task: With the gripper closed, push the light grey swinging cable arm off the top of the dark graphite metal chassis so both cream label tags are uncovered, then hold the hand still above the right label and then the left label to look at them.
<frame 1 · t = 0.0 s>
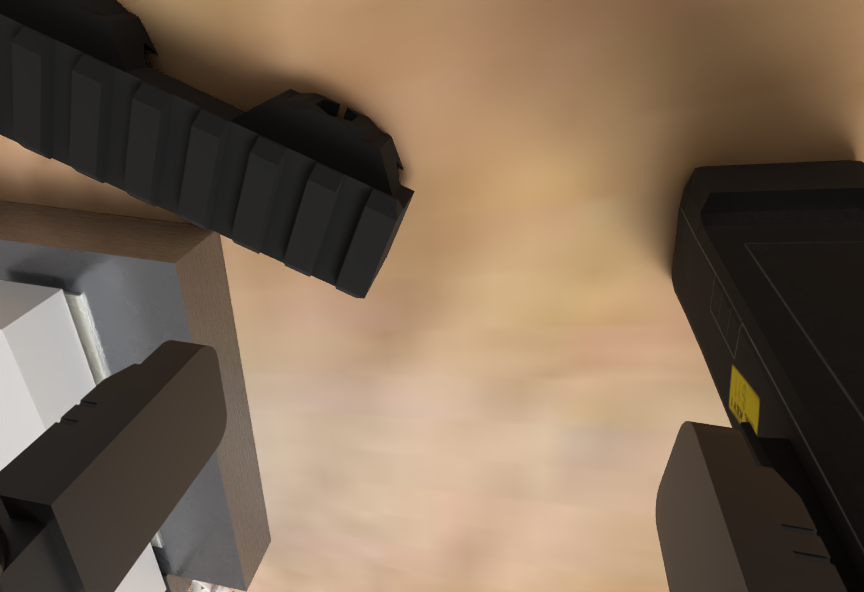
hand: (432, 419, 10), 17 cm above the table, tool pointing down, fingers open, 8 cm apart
chassis: (135, 394, 37), on the table
portable radio: (746, 229, 24), on the table
cable arm: (74, 507, 33), point 7 cm above the table, hinge at 0.0°
rail mount: (204, 110, 26), on the table
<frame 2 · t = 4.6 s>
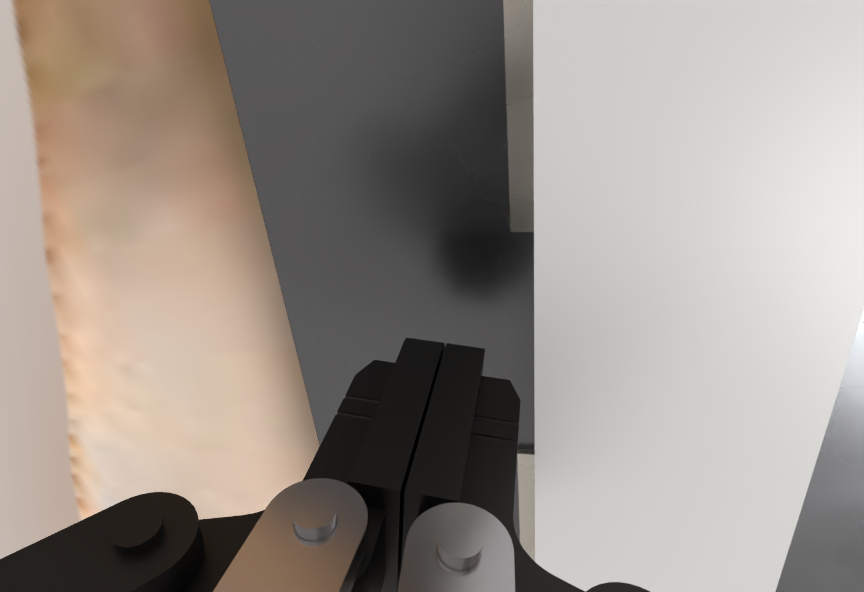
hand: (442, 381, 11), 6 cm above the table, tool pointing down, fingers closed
chassis: (612, 289, 16), on the table
cable arm: (635, 562, 12), point 7 cm above the table, hinge at -0.4°, touching gripper
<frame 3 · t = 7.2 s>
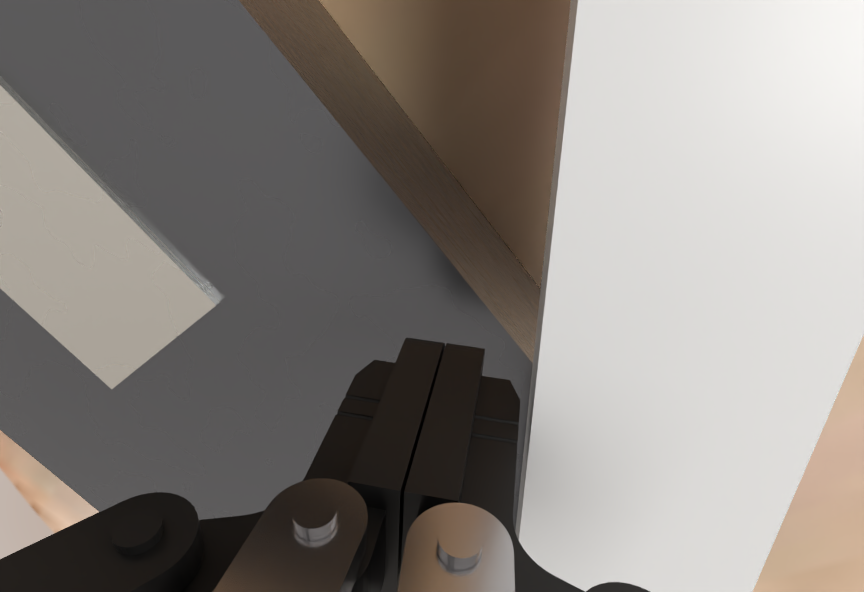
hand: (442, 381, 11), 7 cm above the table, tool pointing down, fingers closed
chassis: (309, 355, 19), on the table
cable arm: (611, 564, 12), point 7 cm above the table, hinge at -39.3°, touching gripper
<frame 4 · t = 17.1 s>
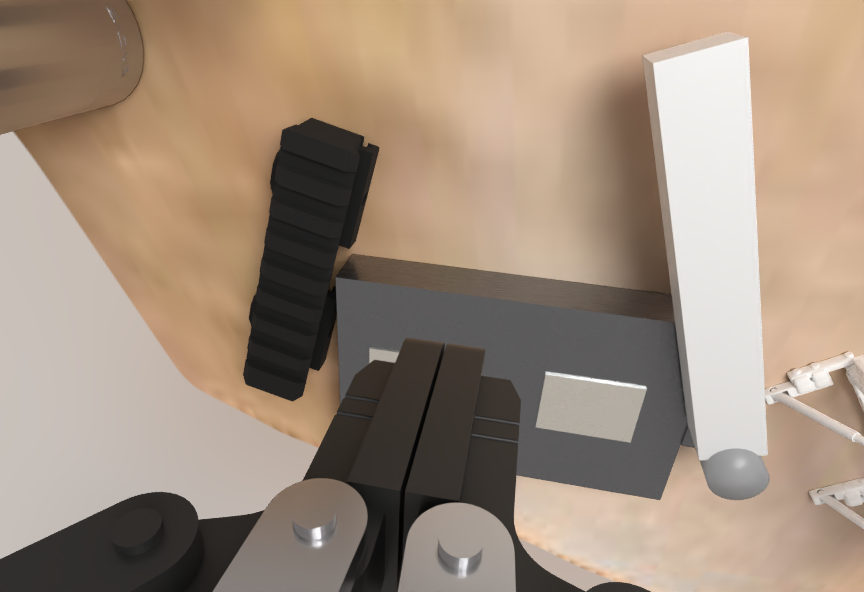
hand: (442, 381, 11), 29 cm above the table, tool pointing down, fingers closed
chassis: (509, 363, 45), on the table
cable arm: (714, 299, 32), point 7 cm above the table, hinge at -70.1°
rail mount: (312, 251, 44), on the table
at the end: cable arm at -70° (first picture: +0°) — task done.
